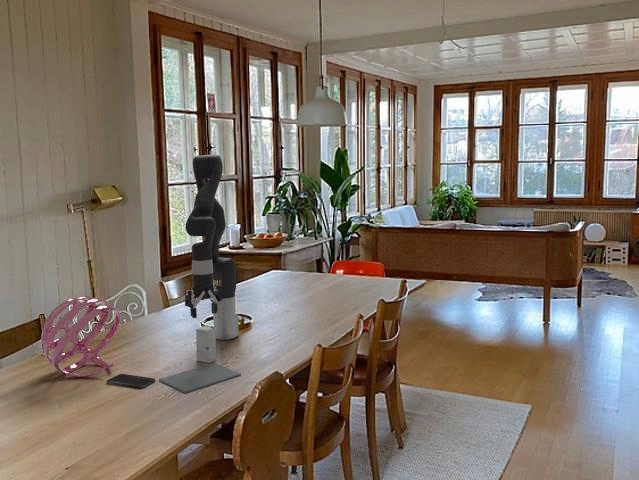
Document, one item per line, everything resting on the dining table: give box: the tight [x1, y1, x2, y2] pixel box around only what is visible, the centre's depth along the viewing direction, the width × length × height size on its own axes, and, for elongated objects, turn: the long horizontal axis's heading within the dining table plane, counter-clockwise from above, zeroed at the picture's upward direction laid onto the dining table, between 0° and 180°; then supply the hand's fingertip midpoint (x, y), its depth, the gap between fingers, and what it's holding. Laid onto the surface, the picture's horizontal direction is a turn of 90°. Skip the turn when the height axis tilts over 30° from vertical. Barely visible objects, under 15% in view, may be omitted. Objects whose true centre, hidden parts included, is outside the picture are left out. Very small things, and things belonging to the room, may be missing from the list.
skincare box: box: [195, 325, 217, 364], centre depth 223 cm, size 6×4×12 cm
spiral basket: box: [40, 295, 122, 378], centre depth 213 cm, size 28×28×27 cm
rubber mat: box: [158, 362, 242, 394], centre depth 206 cm, size 22×16×1 cm
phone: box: [106, 373, 156, 390], centre depth 203 cm, size 8×1×15 cm
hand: (204, 315), depth 222 cm, fingers open, 8 cm apart
